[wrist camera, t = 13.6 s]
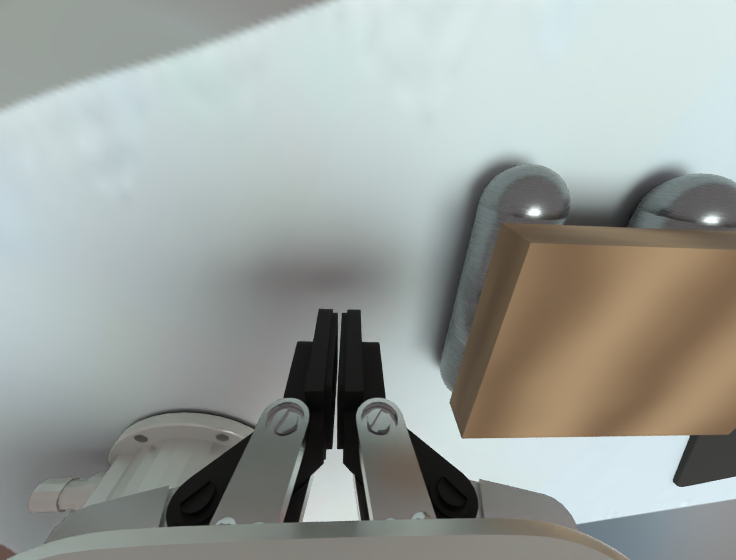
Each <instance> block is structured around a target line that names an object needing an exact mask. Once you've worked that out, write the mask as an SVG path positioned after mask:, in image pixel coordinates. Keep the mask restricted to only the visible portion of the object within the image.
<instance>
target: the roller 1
mask: <svg viewBox="0 0 736 560" xmlns="http://www.w3.org/2000/svg"><path fill="white" fill-rule="evenodd" d="M569 208H570V196H569V191H568V188H567V186H566V184H565V182H564V181H563V180H562V178H561V177H560V176H559V175H558V174H557V173H555V172H554V171H552V170H551V169H548V168H546V167H544V166H540V165H532V164H524V165H518V166H514V167H512V168H509V169H506V170H505V171H503V172H501V173H499V174H498V175H497V176H496V177H494V178H493V179H492V180H491V181H490V182H489V184H488V185H487V186H486V187H485V189H484V191H483V193H482V194H481V197H480V200H479V203H478V207H477V212H476V216H475V220H474V224H473V228H472V232H471V236H470V241H469V245H468V249H467V253H466V257H465V261H464V266H463V270H462V274H461V278H460V282H459V286H458V290H457V295H456V299H455V303H454V307H453V311H452V315H451V320H450V324H449V328H448V332H447V336H446V340H445V345H444V349H443V353H442V357H441V361H440V372H441V377H442V379H443V381H444V384H445V385H446V387H447V388H448V389H449V390H450V391H451V392H453V389H454V385H455V382H456V379H457V375H458V372H459V368H460V365H461V361H462V358H463V354H464V351H465V347H466V344H467V340H468V337H469V333H470V330H471V327H472V323H473V320H474V316H475V313H476V309H477V306H478V302H479V299H480V295H481V292H482V288H483V285H484V281H485V278H486V275H487V271H488V268H489V264H490V261H491V257H492V254H493V250H494V247H495V243H496V240H497V236H498V233H499V229H500V226H501V223H525V224H551V225H564V223H565V221H566V218H567V215H568V211H569Z"/></svg>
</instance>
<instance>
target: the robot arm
mask: <svg viewBox="0 0 736 560" xmlns="http://www.w3.org/2000/svg"><path fill="white" fill-rule="evenodd" d="M337 366H338V313H333V309H319V311H318V317H317V323H316V328H315V334H314V339H313V342H305V341H298V342H297V345H296V349H295V353H294V357H293V361H292V365H291V369H290V373H289V377H288V381H287V385H286V389H285V393H284V397H283V399H280V400H277V401H275V402H274V403H272V404H270V405H269V406H268V407H267V408H266V409H265V411H264V412H263V414H262V415H261V417H260V419H259V421H258V423H257V426H256V428H255V430H254V429H252V428H251V427H249V426H246V425H244V424H242V423H239V422H237V421H234V420H231V419H227V418H224V417H220V416H215V415H209V414H203V413H188V412H181V413H167V414H162V415H157V416H153V417H149V418H146V419H144V420H141V421H139V422H136V423H135V424H133V425H132V426H130V427H129V428H127V429H126V430H125V431H124V432H123V433H122V434H121V436H120V437H119V438H118V440H117V441H116V442H115V444H114V445H113V447H112V449H111V450H110V453H109V459H108V462H109V466H110V468H109V469H108V471H107V472H101V473H96V474H95V475H93V476H92V477H90V479H79V478H50V479H46V480H45V481H43V482H42V483H40V484H39V485H38V486H37V488H36V489H35V490H34V491H33V493H32V495H31V497H30V499H29V501H28V509H29V511H30V512H63V511H65V510H71V512H70V514H69V516H68V517H67V518H65V519H64V520H63V521H62V522H61V523H60V524H59V525H58V526H57V527H56V528H55V529H54V530H53V531H52V533H51V534H50V536H49V537H48V538H47V540H46V541H45V543H44V545H41V546H38V547H35V548H32V549H29V550H27V551H24V552H22V553H19V554H17V555H15V556H13V557H10V558H8V559H6V560H630V559H629V558H627V557H626V556H624V555H623V554H622V553H620V552H619V551H617V550H616V549H614V548H612V547H610V546H609V545H607V544H605V543H603V542H602V541H600V540H597V539H595V538H593V537H591V536H589V535H587V534H584V533H582V532H579V530H578V527H577V525H576V523H575V521H574V519H573V517H572V515H571V514H570V513H569V512H568V510H567V509H566V508H565V507H564V506H563V505H562V504H561V503H559V502H558V501H557V500H556V499H554V498H552V497H550V496H547V495H545V494H541V493H537V492H532V491H528V490H524V489H520V488H515V487H511V486H507V485H503V484H499V483H494V482H490V481H486V480H482V479H479V481H478V482H476V481H471V480H469V479H468V478H467V477H466V476H465V475H464V474H463V473H462V472H460V471H459V470H458V469H457V468H455V467H454V466H453V465H452V464H450V463H449V462H448V461H447V460H445V459H444V458H443V457H442V456H441V455H439V454H438V453H437V452H436V451H434V450H433V449H432V448H431V447H429V446H428V445H427V444H426V443H425V442H423V441H422V440H421V439H420V438H418V437H417V436H416V435H415V434H413V433H412V432H411V431H410V430H408V429H407V427H406V424H405V421H404V418H403V415H402V413H401V411H400V409H399V408H398V407H397V406H396V405H395V404H394V403H393V402H391V401H390V400H387V399H386V397H385V388H384V380H383V371H382V362H381V354H380V345H379V342H362V335H361V310H347V313H342V320H341V338H340V355H339V372H338V393H337V449H343V464H344V465H345V466H346V467H347V468H348V469H349V470H350V471H351V472H352V473H353V481H354V489H355V496H356V503H357V511H358V518H359V521H333V522H302V521H303V517H304V513H305V509H306V505H307V501H308V497H309V493H310V489H311V485H312V481H313V473H314V472H315V471H316V470H317V469H318V468H319V467H320V466H321V465H322V464H323V463H324V460H326V449H332V446H333V430H334V415H335V399H336V383H337Z"/></svg>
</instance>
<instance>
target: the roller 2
mask: <svg viewBox="0 0 736 560" xmlns="http://www.w3.org/2000/svg"><path fill="white" fill-rule="evenodd" d="M627 228H653V229H679V230H704V231H730V232H736V183H735V182H734V181H732V180H730V179H727V178H725V177H722V176H718V175H713V174H689V175H684V176H680V177H676V178H673V179H670V180H668V181H665V182H663V183H662V184H660V185H658V186H656V187H655V188H653V189H652V190H651V191H650V192H648V193H647V194H646V195H645V196H644V197H643V198H642V199H641V201H640V202H639V204H638V206H637V207H636V209H635V211H634V213H633V215H632V217H631V219H630V221H629V223H628V225H627Z"/></svg>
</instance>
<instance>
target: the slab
mask: <svg viewBox="0 0 736 560" xmlns="http://www.w3.org/2000/svg"><path fill="white" fill-rule="evenodd" d="M450 405H451V408H452V411H453V414H454V417H455V420H456V423H457V426H458V428H459V431H460V434H461V437H462V438H529V437H598V436H667V435H729V434H730V433H731V432H732V431H733V430H734V429H735V428H736V232H730V231H704V230H679V229H653V228H627V227H602V226H576V225H551V224H525V223H501V226H500V229H499V233H498V236H497V240H496V243H495V247H494V250H493V254H492V257H491V261H490V264H489V268H488V271H487V275H486V278H485V281H484V285H483V288H482V292H481V295H480V299H479V302H478V306H477V309H476V313H475V316H474V320H473V323H472V327H471V330H470V333H469V337H468V340H467V344H466V347H465V351H464V354H463V358H462V361H461V365H460V368H459V372H458V375H457V379H456V382H455V385H454V389H453V392H452V396H451V399H450Z"/></svg>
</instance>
